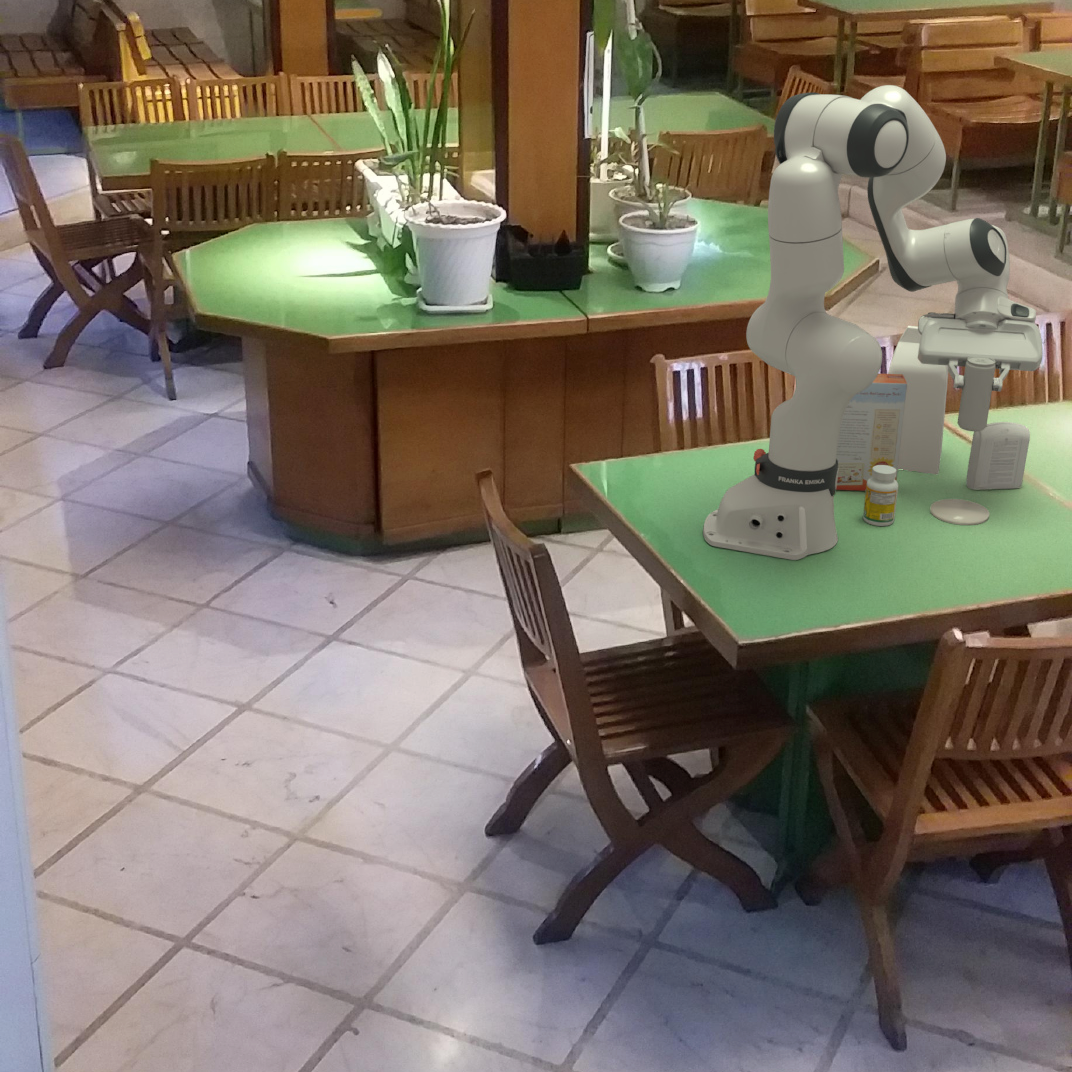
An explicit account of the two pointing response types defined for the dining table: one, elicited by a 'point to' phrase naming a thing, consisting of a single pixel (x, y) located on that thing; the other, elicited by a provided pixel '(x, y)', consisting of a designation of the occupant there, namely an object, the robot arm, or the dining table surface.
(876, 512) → the supplement bottle
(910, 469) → the milk
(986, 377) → the beverage can
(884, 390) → the cracker box
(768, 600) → the dining table surface
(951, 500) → the white domed disc
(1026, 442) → the photo printer
